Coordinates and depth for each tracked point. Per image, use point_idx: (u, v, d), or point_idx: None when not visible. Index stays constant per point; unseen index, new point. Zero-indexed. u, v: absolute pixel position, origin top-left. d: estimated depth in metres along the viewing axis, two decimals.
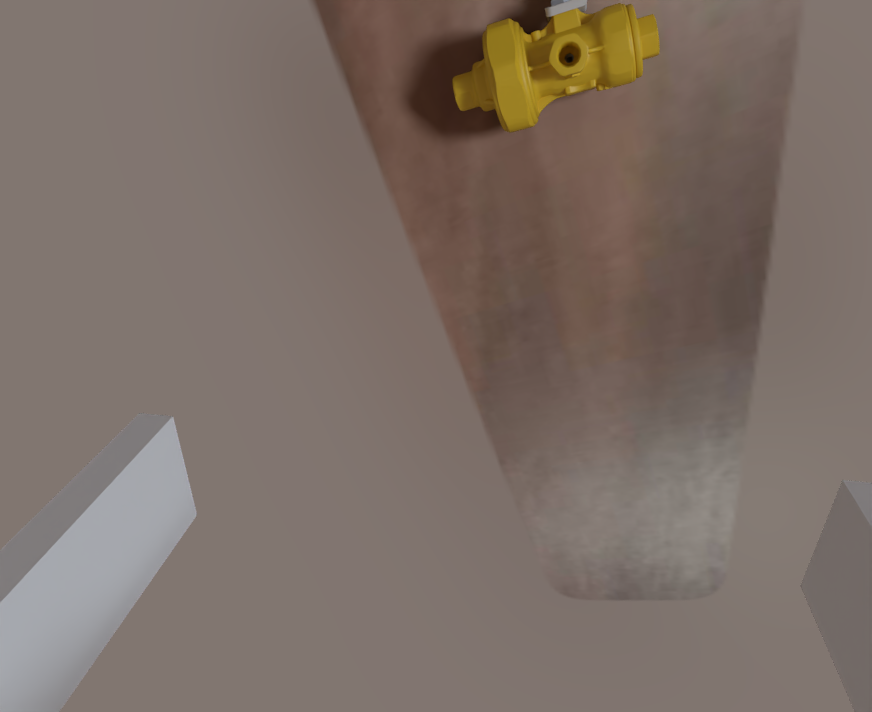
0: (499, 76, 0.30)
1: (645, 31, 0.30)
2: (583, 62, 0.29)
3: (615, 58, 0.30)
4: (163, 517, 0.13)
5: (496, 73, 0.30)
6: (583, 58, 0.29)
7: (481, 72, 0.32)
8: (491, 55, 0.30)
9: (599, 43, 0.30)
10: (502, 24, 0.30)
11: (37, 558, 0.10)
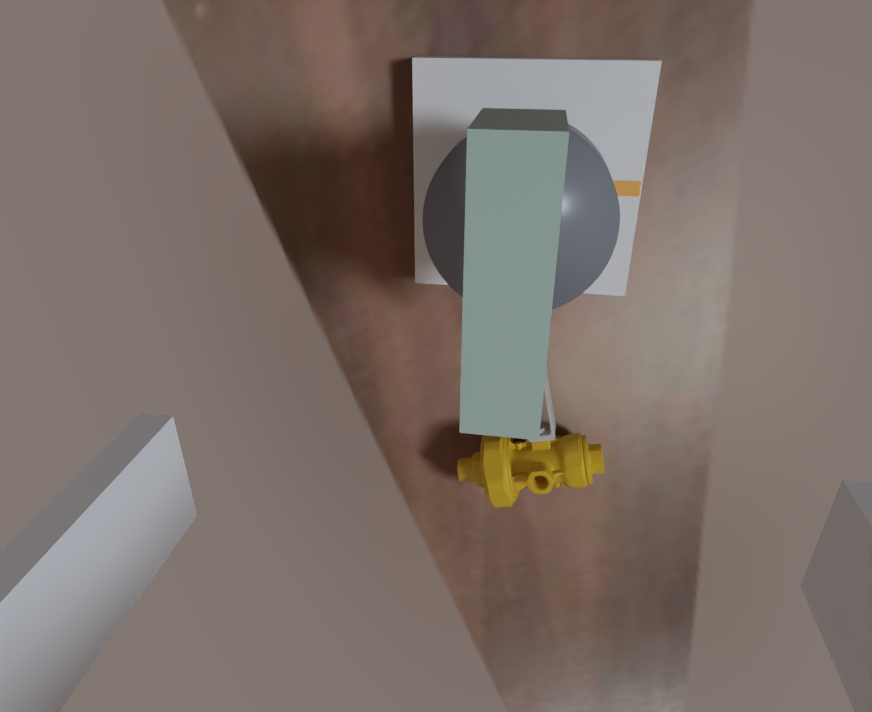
0: (491, 487, 0.42)
1: (594, 462, 0.42)
2: (550, 489, 0.41)
3: (573, 481, 0.42)
4: (163, 517, 0.13)
5: (489, 485, 0.42)
6: (550, 486, 0.41)
7: (478, 468, 0.44)
8: (486, 470, 0.42)
9: (562, 470, 0.42)
10: (495, 447, 0.43)
11: (37, 558, 0.10)
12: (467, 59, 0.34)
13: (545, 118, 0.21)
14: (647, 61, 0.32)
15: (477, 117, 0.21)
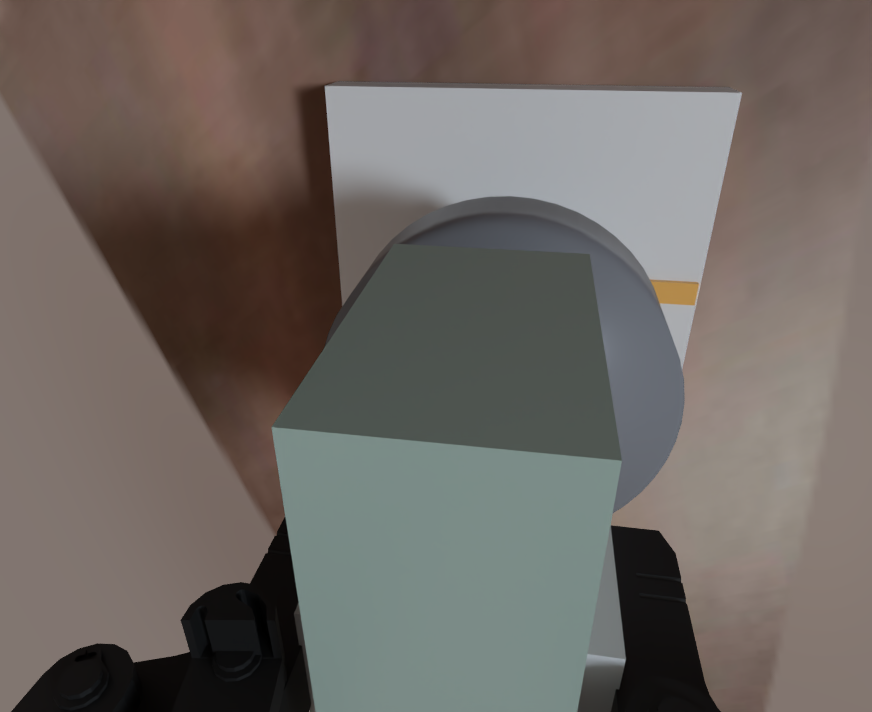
0: None
1: None
2: None
3: None
4: None
5: None
6: None
7: None
8: None
9: None
10: None
11: None
12: (414, 89, 0.20)
13: (539, 316, 0.08)
14: (717, 93, 0.19)
15: (353, 311, 0.08)
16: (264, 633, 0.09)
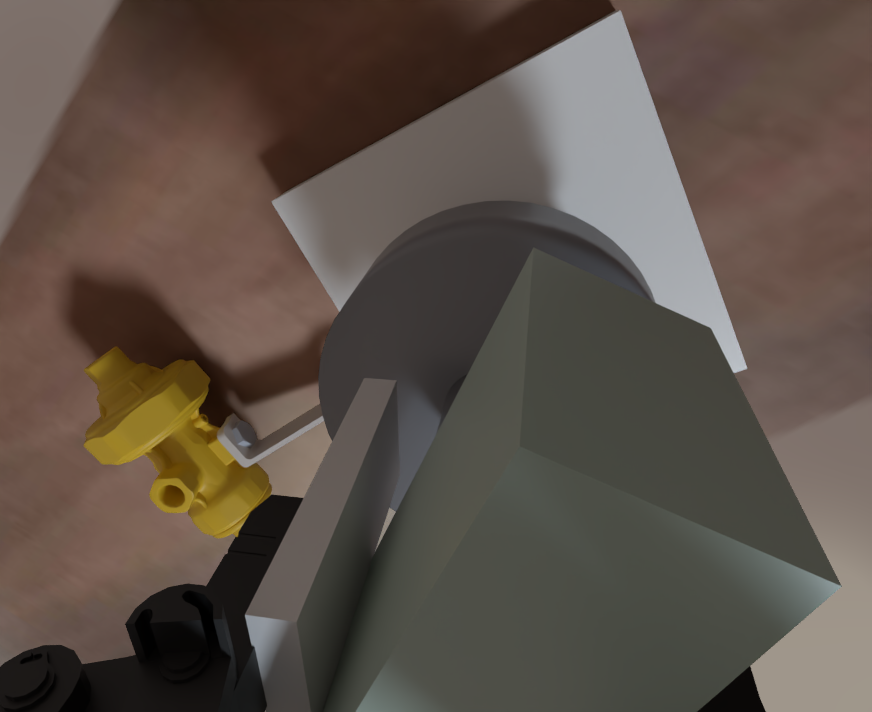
0: (111, 438, 0.24)
1: None
2: (171, 511, 0.26)
3: (202, 521, 0.27)
4: (388, 472, 0.14)
5: (113, 433, 0.24)
6: (175, 510, 0.26)
7: (125, 392, 0.26)
8: (132, 416, 0.25)
9: (208, 503, 0.27)
10: (176, 405, 0.25)
11: (344, 495, 0.11)
12: (653, 109, 0.19)
13: (701, 388, 0.08)
14: (740, 353, 0.23)
15: (533, 321, 0.07)
16: (213, 633, 0.09)
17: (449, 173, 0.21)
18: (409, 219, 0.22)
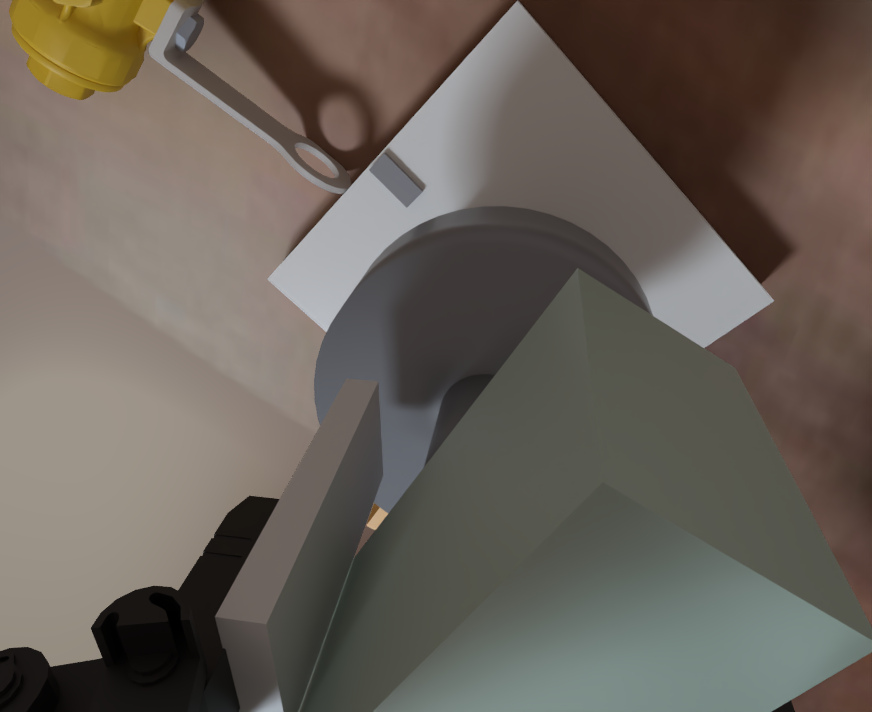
0: None
1: (57, 76, 0.20)
2: None
3: (35, 16, 0.18)
4: (370, 473, 0.14)
5: None
6: None
7: None
8: None
9: (71, 19, 0.18)
10: None
11: (320, 496, 0.11)
12: None
13: (738, 431, 0.08)
14: None
15: (591, 348, 0.07)
16: (182, 635, 0.09)
17: (603, 200, 0.21)
18: (543, 172, 0.21)
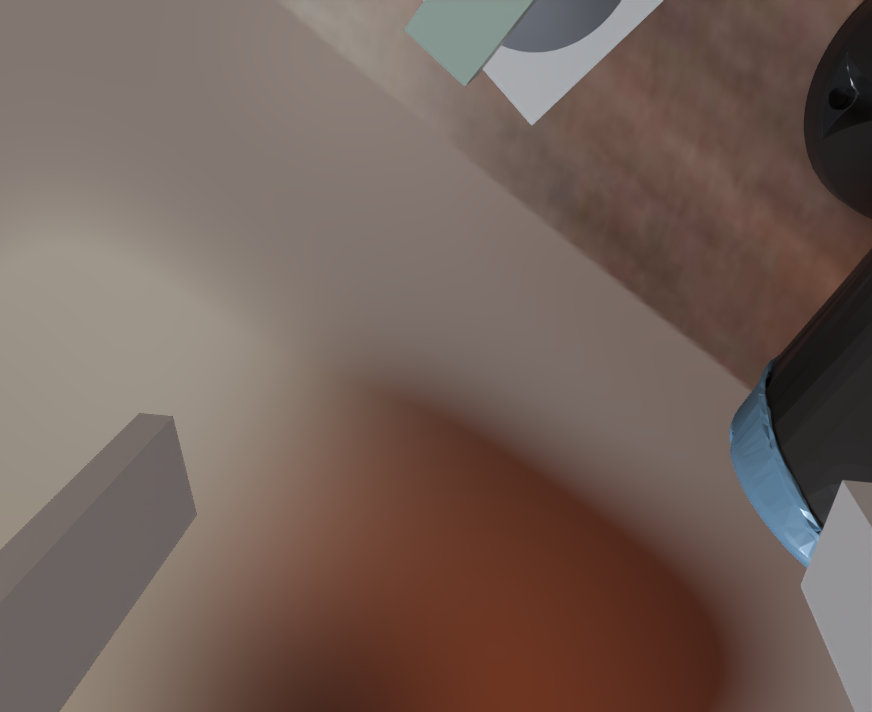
0: None
1: None
2: None
3: None
4: (163, 517, 0.13)
5: None
6: None
7: None
8: None
9: None
10: None
11: (37, 558, 0.10)
12: None
13: None
14: (539, 117, 0.40)
15: None
16: None
17: None
18: None
